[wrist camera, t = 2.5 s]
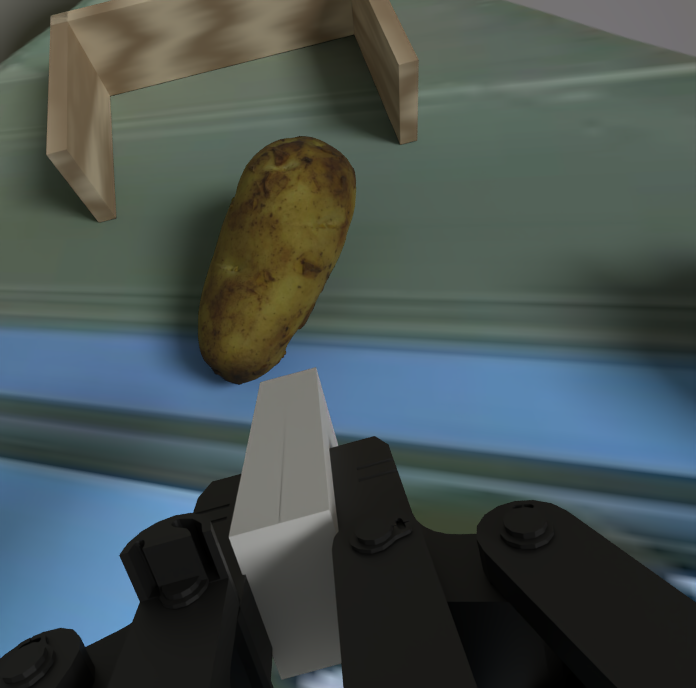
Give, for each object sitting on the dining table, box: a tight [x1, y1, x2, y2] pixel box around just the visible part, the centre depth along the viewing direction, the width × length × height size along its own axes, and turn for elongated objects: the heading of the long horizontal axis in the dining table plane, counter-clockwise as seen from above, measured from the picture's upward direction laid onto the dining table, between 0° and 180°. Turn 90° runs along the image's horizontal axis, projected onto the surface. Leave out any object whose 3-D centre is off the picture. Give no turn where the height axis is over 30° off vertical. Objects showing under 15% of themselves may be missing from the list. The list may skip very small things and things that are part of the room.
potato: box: [198, 136, 356, 385], centre depth 29 cm, size 8×13×8 cm, turn 137°
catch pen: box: [46, 0, 419, 222], centre depth 38 cm, size 22×14×6 cm, turn 104°
